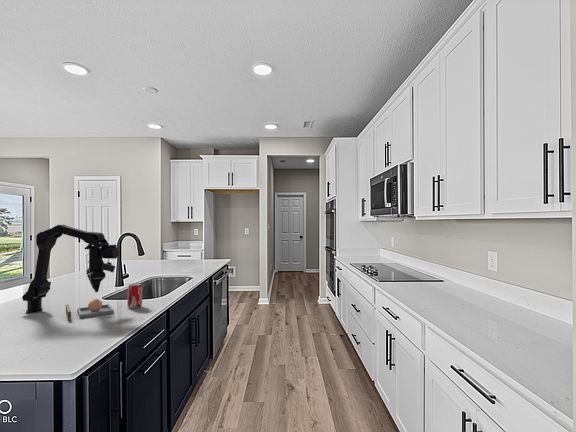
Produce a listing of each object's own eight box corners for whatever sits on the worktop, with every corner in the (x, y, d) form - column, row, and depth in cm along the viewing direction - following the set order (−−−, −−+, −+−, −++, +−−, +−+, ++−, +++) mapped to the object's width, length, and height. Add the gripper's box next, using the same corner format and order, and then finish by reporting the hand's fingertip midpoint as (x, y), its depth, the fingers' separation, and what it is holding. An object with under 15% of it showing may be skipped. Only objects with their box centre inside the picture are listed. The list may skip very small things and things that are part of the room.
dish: (77, 311, 166) (77, 308, 166) (109, 307, 174) (109, 304, 174) (79, 318, 155) (79, 314, 155) (113, 313, 163) (113, 310, 163)
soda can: (136, 309, 171) (136, 285, 171) (124, 308, 172) (124, 285, 173) (145, 306, 178) (145, 283, 178) (133, 305, 179) (133, 282, 179)
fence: (65, 312, 164) (65, 304, 164) (68, 312, 165) (68, 304, 165) (67, 320, 151) (67, 312, 151) (71, 320, 152) (71, 311, 152)
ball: (87, 311, 165) (87, 298, 165) (101, 309, 169) (101, 297, 169) (88, 314, 160) (88, 301, 160) (102, 312, 164) (103, 299, 164)
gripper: (117, 259, 162) (117, 291, 162) (111, 255, 177) (110, 285, 177) (90, 260, 155) (90, 294, 155) (86, 257, 171) (86, 288, 170)
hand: (95, 290), depth 165 cm, fingers open, 9 cm apart
